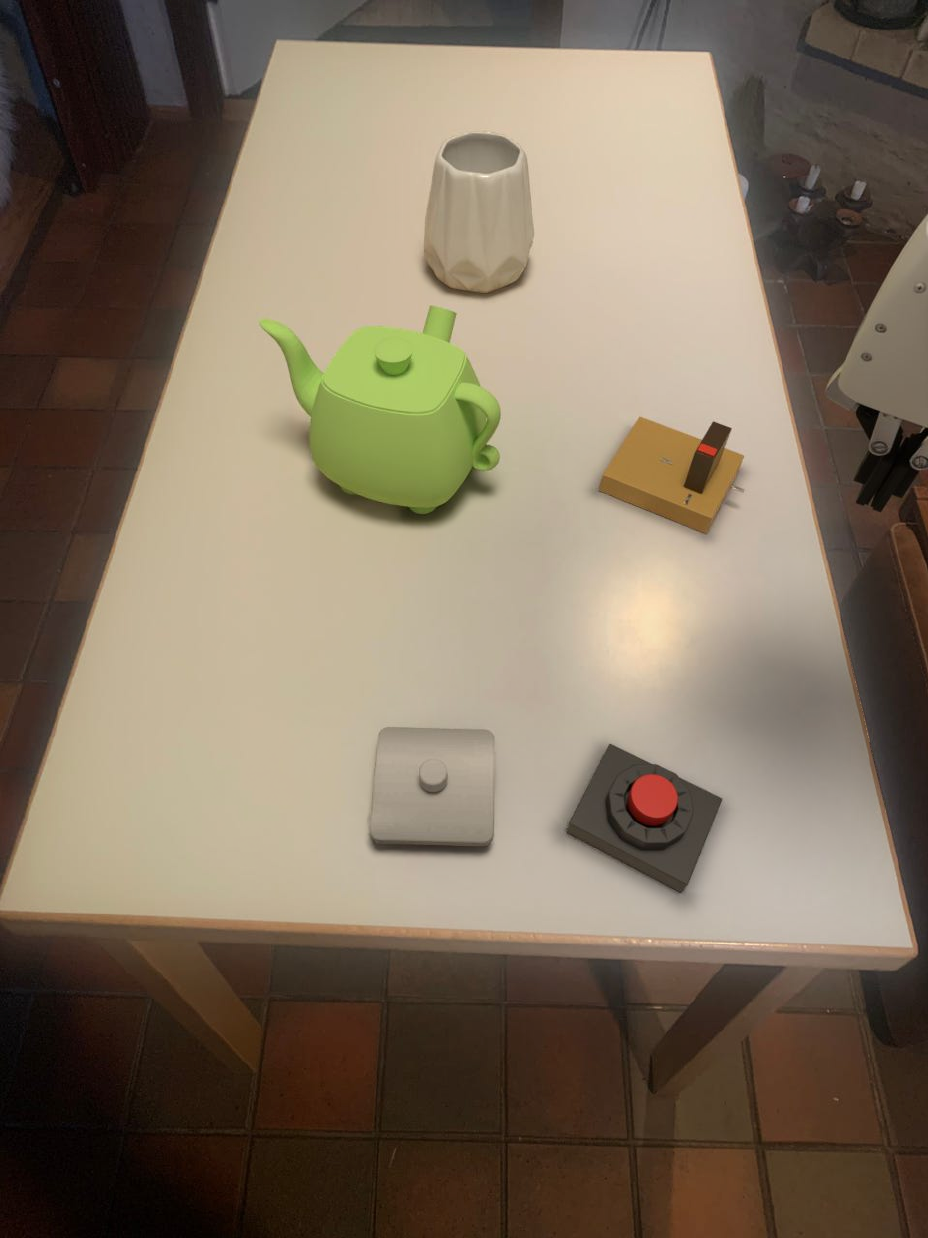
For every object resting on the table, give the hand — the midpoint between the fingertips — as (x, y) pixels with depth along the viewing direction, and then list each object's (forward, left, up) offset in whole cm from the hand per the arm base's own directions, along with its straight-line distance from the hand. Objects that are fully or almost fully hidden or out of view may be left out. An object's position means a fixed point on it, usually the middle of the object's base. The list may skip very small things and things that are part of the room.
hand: (873, 492), depth 53 cm
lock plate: (+16, -21, -27) cm, 38 cm away
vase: (+52, -44, -27) cm, 73 cm away
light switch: (+20, +22, -27) cm, 40 cm away
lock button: (+4, +15, -23) cm, 28 cm away
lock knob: (+13, -21, -25) cm, 35 cm away
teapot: (+44, -11, -27) cm, 53 cm away
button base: (+4, +16, -27) cm, 31 cm away
